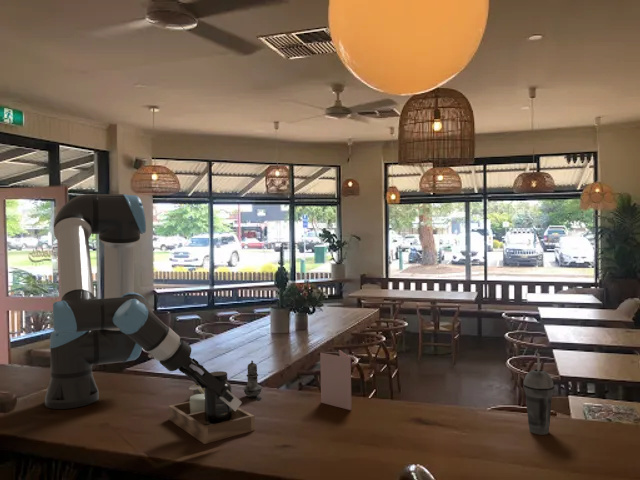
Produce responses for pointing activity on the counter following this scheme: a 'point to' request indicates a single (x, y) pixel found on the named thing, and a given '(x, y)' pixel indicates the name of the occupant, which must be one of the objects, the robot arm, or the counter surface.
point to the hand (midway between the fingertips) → (231, 403)
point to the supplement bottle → (217, 402)
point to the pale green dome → (197, 403)
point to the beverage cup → (538, 399)
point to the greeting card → (336, 380)
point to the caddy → (210, 432)
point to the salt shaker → (252, 383)
